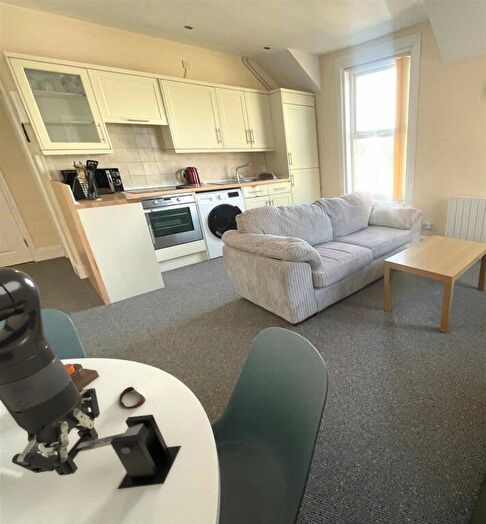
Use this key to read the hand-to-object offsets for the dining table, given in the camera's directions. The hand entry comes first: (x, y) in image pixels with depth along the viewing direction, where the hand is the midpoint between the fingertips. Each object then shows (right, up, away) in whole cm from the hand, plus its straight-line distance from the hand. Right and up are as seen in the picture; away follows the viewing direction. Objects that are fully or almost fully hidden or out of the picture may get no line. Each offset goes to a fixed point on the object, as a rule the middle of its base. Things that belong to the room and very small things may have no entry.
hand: (81, 457), depth 52 cm
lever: (+6, +2, 0) cm, 6 cm away
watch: (-4, +1, +18) cm, 19 cm away
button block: (-26, +3, +25) cm, 36 cm away
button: (-26, +6, +23) cm, 35 cm away
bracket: (+11, -4, +3) cm, 12 cm away
